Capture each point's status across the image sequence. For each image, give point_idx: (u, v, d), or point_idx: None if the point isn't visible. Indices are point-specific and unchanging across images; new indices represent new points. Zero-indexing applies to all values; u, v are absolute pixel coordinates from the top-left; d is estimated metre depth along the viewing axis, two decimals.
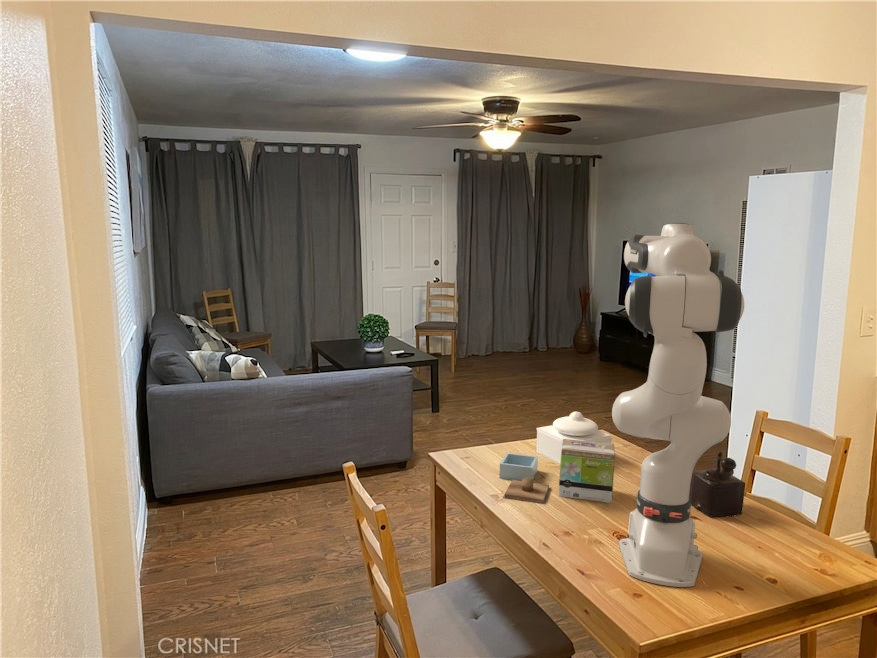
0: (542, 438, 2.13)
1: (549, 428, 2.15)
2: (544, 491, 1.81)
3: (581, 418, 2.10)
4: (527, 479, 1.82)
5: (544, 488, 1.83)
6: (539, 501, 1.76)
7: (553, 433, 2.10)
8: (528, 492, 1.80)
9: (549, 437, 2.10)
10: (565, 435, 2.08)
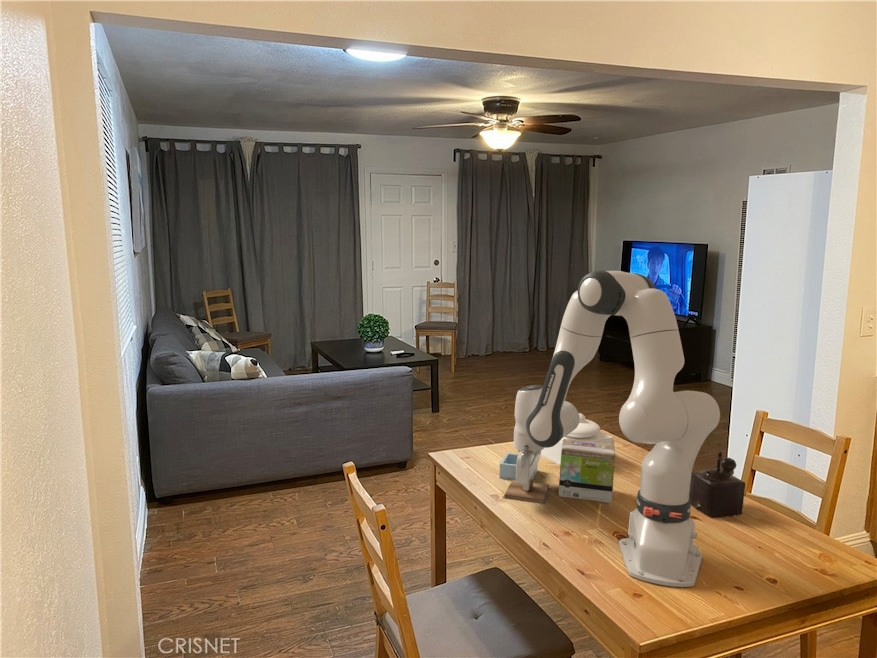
0: None
1: None
2: (544, 491, 1.81)
3: (583, 420, 2.08)
4: None
5: (544, 488, 1.83)
6: (539, 501, 1.76)
7: None
8: (528, 492, 1.80)
9: None
10: (567, 437, 2.06)
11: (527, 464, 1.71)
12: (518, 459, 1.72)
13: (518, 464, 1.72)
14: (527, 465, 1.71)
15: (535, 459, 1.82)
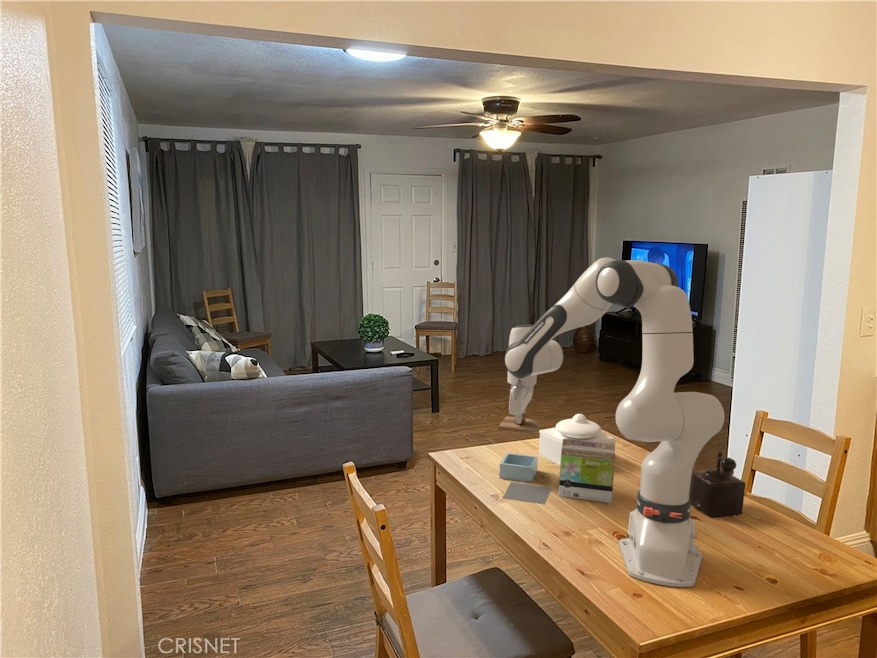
0: (545, 441, 2.10)
1: (552, 430, 2.13)
2: (536, 425, 1.92)
3: (584, 420, 2.07)
4: None
5: (535, 422, 1.94)
6: (530, 432, 1.87)
7: (556, 435, 2.08)
8: (520, 425, 1.91)
9: (551, 439, 2.07)
10: (568, 438, 2.06)
11: (520, 396, 1.82)
12: (511, 392, 1.83)
13: (511, 396, 1.83)
14: (520, 397, 1.82)
15: (527, 395, 1.93)
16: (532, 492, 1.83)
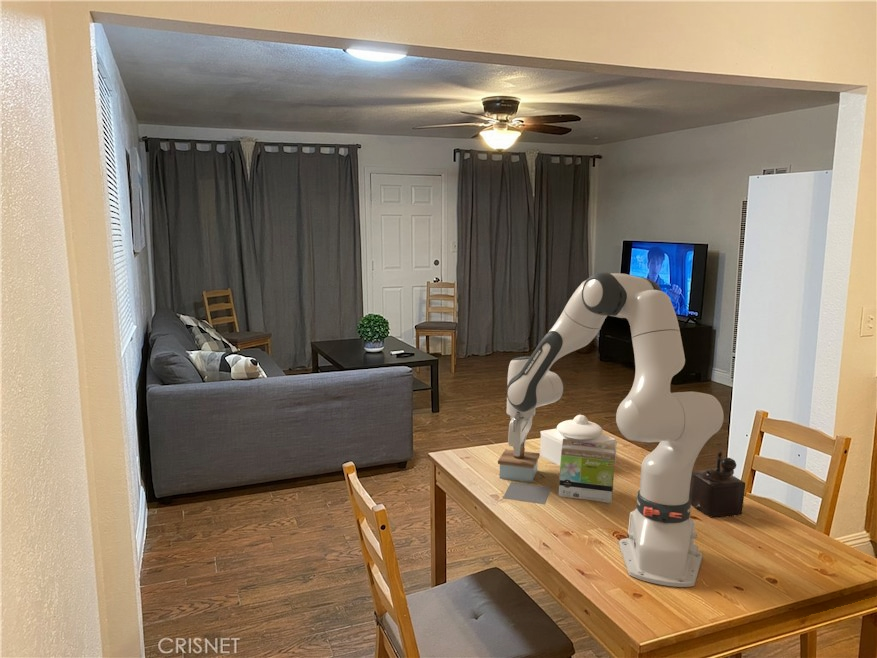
0: (546, 442, 2.09)
1: (553, 431, 2.12)
2: (535, 458, 1.94)
3: (585, 421, 2.06)
4: None
5: (534, 456, 1.96)
6: (529, 467, 1.89)
7: (557, 436, 2.07)
8: (519, 459, 1.93)
9: (552, 440, 2.06)
10: None
11: (519, 428, 1.84)
12: (510, 424, 1.85)
13: (510, 428, 1.85)
14: (519, 429, 1.84)
15: (526, 425, 1.94)
16: (532, 492, 1.83)
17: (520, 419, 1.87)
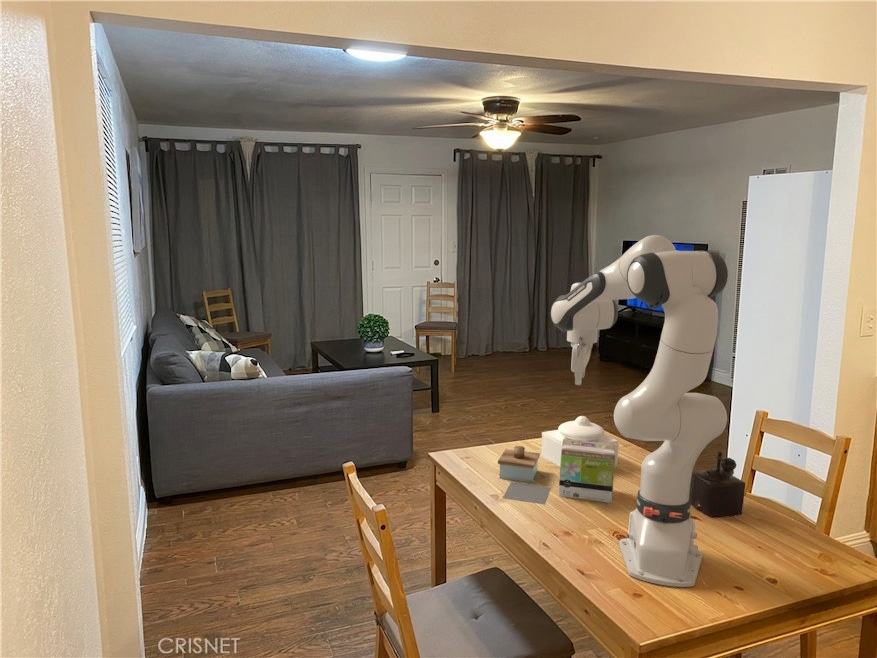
0: (547, 443, 2.08)
1: (554, 433, 2.10)
2: (535, 458, 1.94)
3: (587, 423, 2.05)
4: (519, 447, 1.95)
5: (534, 456, 1.96)
6: (529, 467, 1.89)
7: (558, 438, 2.05)
8: (519, 459, 1.93)
9: (554, 442, 2.05)
10: None
11: (583, 353, 1.78)
12: (574, 349, 1.79)
13: (574, 353, 1.79)
14: (583, 354, 1.78)
15: (587, 354, 1.88)
16: (532, 492, 1.83)
17: (583, 345, 1.81)
